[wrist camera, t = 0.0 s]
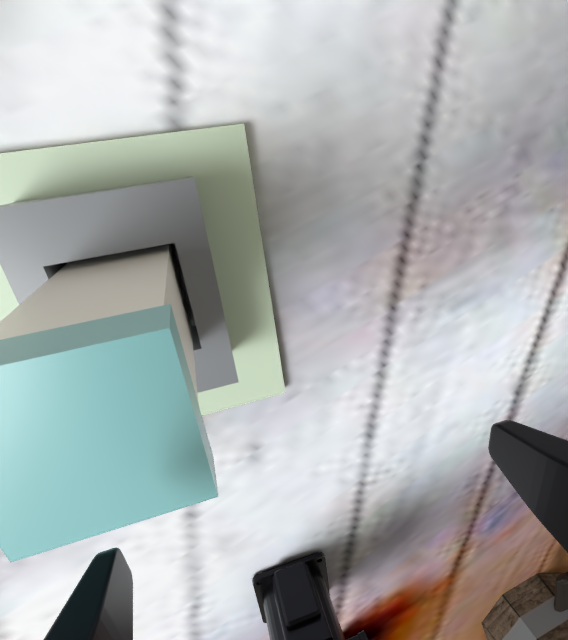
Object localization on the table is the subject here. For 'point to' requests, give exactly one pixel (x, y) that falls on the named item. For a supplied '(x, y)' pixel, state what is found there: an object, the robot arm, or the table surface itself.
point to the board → (219, 217)
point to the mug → (531, 610)
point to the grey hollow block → (121, 236)
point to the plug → (99, 404)
